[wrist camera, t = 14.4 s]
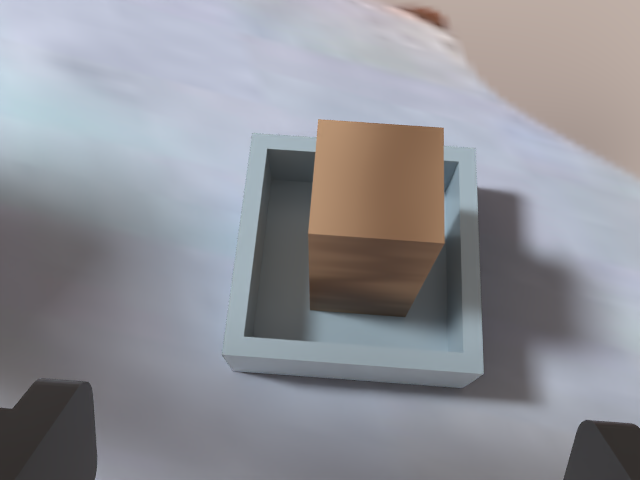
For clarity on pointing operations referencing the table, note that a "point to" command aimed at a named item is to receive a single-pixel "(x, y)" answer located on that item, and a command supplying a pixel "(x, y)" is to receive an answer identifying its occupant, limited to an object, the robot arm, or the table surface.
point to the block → (374, 215)
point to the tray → (336, 327)
